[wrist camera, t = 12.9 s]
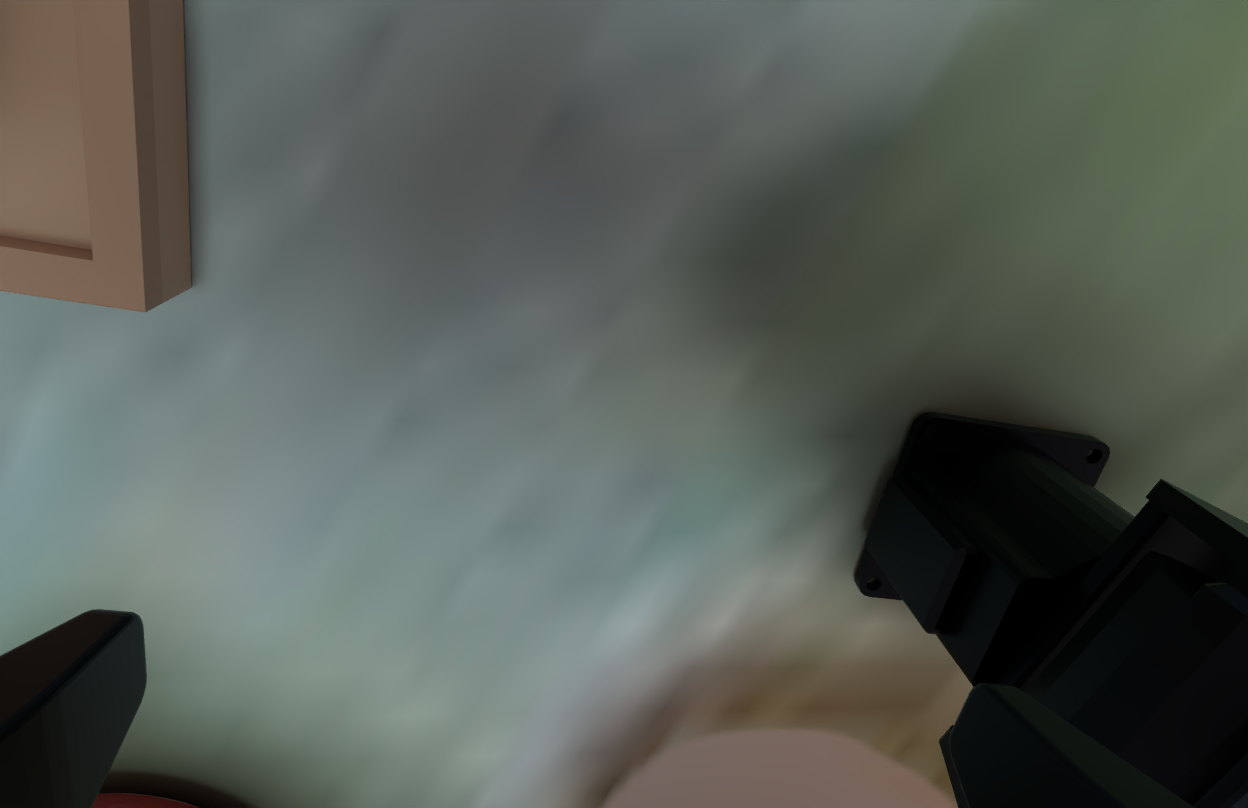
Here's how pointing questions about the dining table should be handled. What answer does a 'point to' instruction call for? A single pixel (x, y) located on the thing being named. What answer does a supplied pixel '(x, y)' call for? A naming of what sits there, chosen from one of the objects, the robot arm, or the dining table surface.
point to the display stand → (94, 151)
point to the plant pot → (136, 801)
